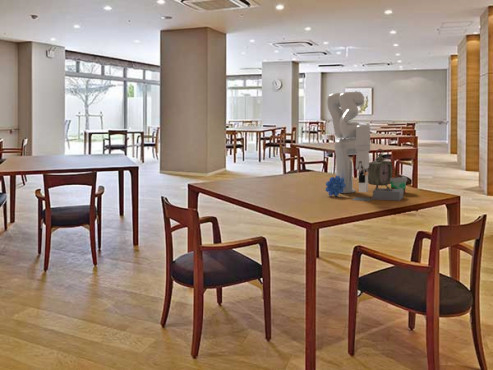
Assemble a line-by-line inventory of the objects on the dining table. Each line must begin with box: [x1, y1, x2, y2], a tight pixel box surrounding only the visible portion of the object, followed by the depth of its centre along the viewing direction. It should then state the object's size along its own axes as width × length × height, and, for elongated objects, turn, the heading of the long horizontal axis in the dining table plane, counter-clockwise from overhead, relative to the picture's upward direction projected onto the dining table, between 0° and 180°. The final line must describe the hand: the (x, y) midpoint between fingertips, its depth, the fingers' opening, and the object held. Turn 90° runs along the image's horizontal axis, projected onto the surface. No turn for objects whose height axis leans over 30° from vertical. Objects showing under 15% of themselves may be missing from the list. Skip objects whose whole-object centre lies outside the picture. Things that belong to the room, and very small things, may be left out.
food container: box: [390, 175, 408, 195], centre depth 279 cm, size 12×6×10 cm, turn 130°
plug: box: [357, 171, 369, 193], centre depth 264 cm, size 4×4×10 cm
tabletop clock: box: [367, 148, 394, 190], centre depth 294 cm, size 14×9×25 cm, turn 129°
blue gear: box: [325, 176, 346, 197], centre depth 280 cm, size 12×7×12 cm, turn 68°
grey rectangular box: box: [372, 187, 404, 202], centre depth 265 cm, size 14×10×5 cm
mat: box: [351, 196, 374, 202], centre depth 266 cm, size 10×10×1 cm
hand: (363, 181), depth 264 cm, fingers closed on plug, 4 cm apart
